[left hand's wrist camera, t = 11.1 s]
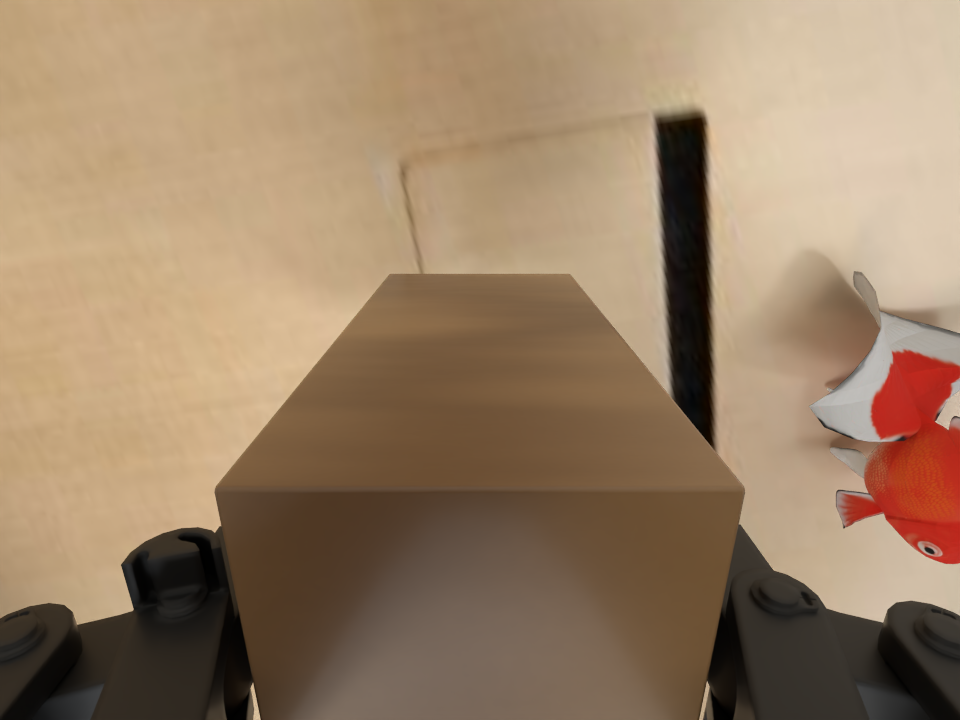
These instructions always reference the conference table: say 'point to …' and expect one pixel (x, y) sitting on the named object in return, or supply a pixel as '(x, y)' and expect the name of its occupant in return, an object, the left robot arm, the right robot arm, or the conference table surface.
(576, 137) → the conference table surface
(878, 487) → the fish
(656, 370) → the conference table surface
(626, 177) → the conference table surface
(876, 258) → the conference table surface
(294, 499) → the block
